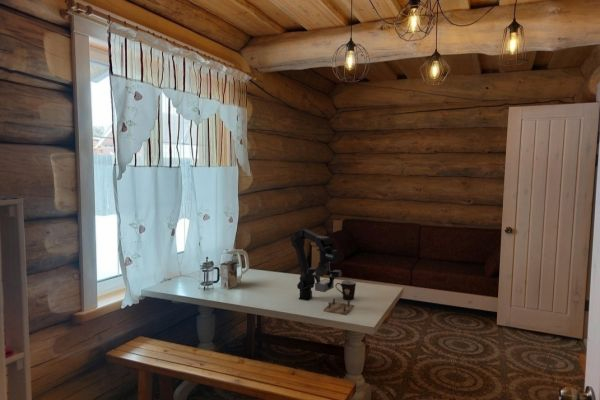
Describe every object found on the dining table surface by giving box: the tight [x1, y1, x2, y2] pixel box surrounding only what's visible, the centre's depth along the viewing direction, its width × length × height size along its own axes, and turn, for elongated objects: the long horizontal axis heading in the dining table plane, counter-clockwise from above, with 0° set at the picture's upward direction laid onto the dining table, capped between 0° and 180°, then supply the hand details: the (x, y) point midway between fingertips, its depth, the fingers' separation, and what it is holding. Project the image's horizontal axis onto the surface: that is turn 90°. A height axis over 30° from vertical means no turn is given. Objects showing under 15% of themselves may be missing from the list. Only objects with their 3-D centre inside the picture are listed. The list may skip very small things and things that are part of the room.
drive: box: [314, 278, 335, 293], centre depth 228 cm, size 6×10×4 cm, turn 144°
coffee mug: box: [335, 279, 357, 301], centre depth 243 cm, size 12×9×10 cm
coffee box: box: [220, 260, 238, 290], centre depth 264 cm, size 9×6×16 cm
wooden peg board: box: [323, 298, 355, 316], centre depth 225 cm, size 13×14×4 cm
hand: (324, 287), depth 228 cm, fingers closed on drive, 6 cm apart
